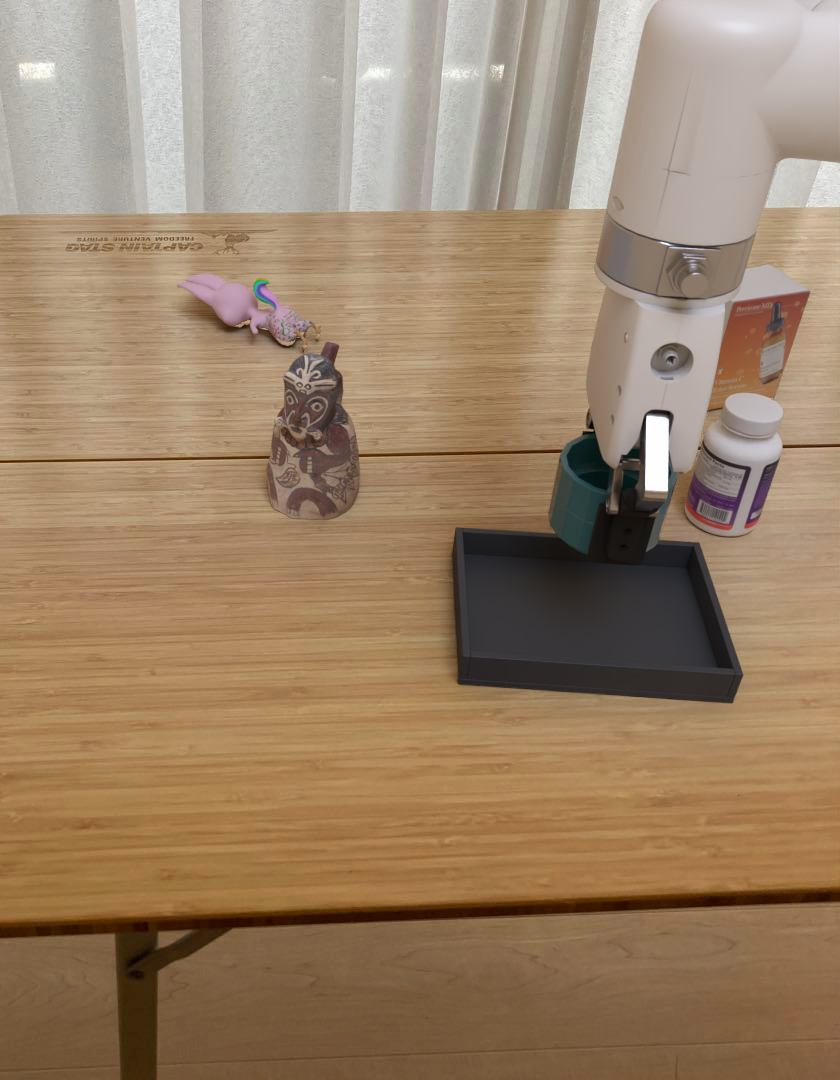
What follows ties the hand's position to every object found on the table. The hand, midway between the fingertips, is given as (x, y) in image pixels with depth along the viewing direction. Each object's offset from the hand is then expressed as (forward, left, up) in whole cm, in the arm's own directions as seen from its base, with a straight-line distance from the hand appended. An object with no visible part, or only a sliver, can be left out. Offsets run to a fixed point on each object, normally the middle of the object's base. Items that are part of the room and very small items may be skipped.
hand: (605, 520), depth 69 cm
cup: (0, 0, -1) cm, 1 cm away
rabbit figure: (+27, -39, -9) cm, 48 cm away
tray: (0, 0, -9) cm, 9 cm away
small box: (-16, -32, -9) cm, 37 cm away
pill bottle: (-12, -13, -9) cm, 20 cm away
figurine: (+19, -13, -9) cm, 25 cm away
